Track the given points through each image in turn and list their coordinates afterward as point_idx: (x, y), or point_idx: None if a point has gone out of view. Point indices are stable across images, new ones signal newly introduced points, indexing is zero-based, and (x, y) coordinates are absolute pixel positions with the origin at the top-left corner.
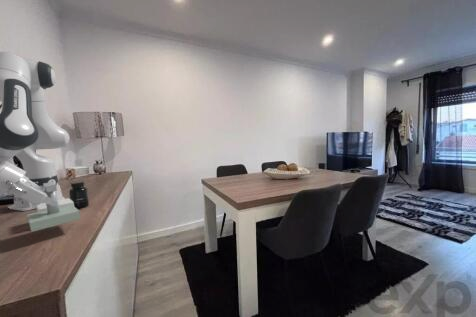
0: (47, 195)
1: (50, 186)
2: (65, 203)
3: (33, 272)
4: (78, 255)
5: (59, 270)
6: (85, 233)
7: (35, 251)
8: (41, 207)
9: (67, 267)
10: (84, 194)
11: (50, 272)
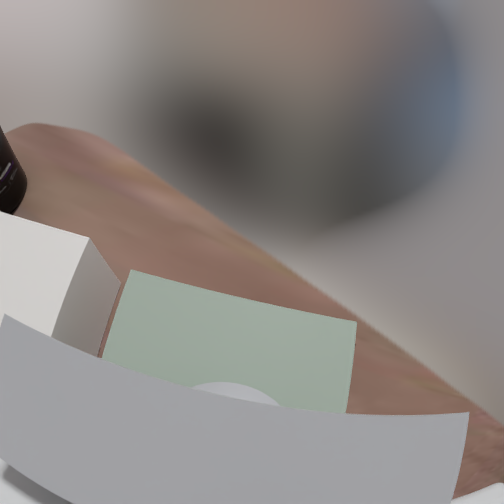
0: (500, 483)
1: (444, 482)
2: (60, 272)
3: (465, 486)
4: (479, 407)
5: (495, 443)
6: (363, 351)
7: None
8: None
9: (498, 430)
10: (4, 146)
11: (489, 457)
